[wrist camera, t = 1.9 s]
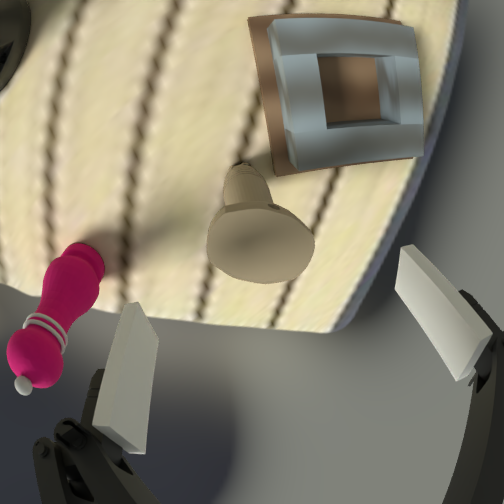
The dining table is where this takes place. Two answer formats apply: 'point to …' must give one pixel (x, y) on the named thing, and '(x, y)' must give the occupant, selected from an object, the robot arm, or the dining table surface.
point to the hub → (338, 90)
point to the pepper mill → (55, 317)
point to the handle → (257, 232)
